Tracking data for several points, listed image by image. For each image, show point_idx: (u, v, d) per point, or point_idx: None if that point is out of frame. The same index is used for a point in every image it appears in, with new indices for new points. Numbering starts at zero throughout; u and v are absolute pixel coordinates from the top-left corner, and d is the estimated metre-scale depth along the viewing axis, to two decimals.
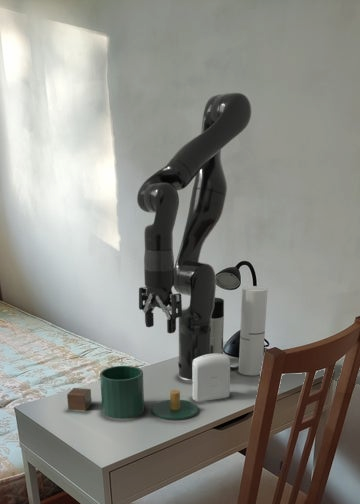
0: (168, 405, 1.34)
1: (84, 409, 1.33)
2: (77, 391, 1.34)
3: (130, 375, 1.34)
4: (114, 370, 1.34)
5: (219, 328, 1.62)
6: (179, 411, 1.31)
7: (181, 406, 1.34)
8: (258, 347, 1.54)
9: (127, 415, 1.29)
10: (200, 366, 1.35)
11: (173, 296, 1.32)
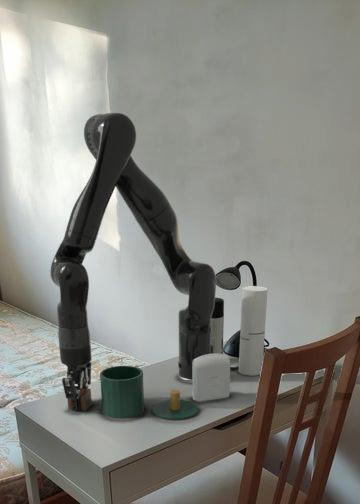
0: (168, 405, 1.34)
1: (84, 409, 1.33)
2: None
3: (130, 375, 1.34)
4: (114, 370, 1.34)
5: (219, 328, 1.62)
6: (179, 411, 1.31)
7: (181, 406, 1.34)
8: (258, 347, 1.54)
9: (127, 415, 1.29)
10: (200, 366, 1.35)
11: None
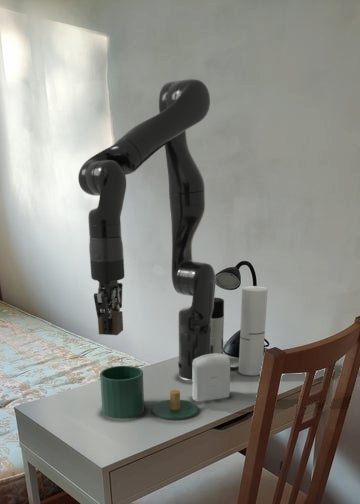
0: (168, 405, 1.34)
1: (116, 331, 1.23)
2: None
3: (130, 375, 1.34)
4: (114, 370, 1.34)
5: (219, 328, 1.62)
6: (179, 411, 1.31)
7: (181, 406, 1.34)
8: (258, 347, 1.54)
9: (127, 415, 1.29)
10: (200, 366, 1.35)
11: (94, 295, 1.17)
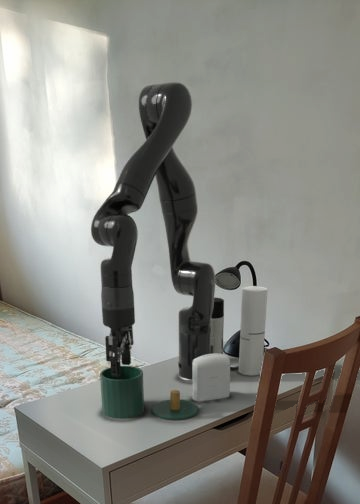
0: (168, 405, 1.34)
1: None
2: None
3: (130, 375, 1.34)
4: None
5: (219, 328, 1.62)
6: (179, 411, 1.31)
7: (181, 406, 1.34)
8: (258, 347, 1.54)
9: (127, 415, 1.29)
10: (200, 366, 1.35)
11: None
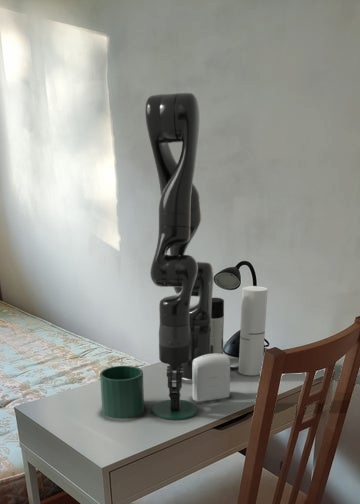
0: (168, 405, 1.34)
1: None
2: None
3: (130, 375, 1.34)
4: (114, 370, 1.34)
5: (219, 328, 1.62)
6: (179, 411, 1.31)
7: (181, 406, 1.34)
8: (258, 347, 1.54)
9: (127, 415, 1.29)
10: (200, 366, 1.35)
11: (169, 382, 1.23)
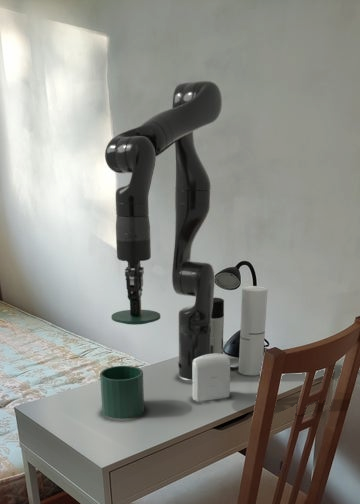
0: (129, 313, 1.25)
1: None
2: None
3: (130, 375, 1.34)
4: (114, 370, 1.34)
5: (219, 328, 1.62)
6: (140, 317, 1.22)
7: (143, 313, 1.25)
8: (258, 347, 1.54)
9: (127, 415, 1.29)
10: (200, 366, 1.35)
11: (126, 279, 1.14)
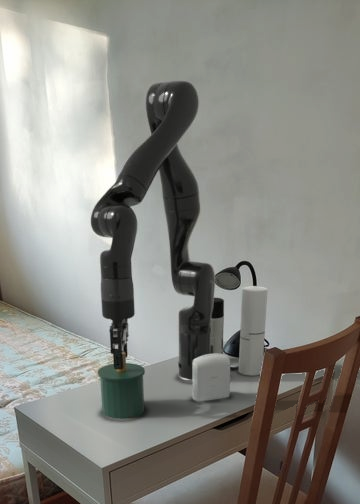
0: None
1: None
2: None
3: None
4: None
5: (219, 328, 1.62)
6: (124, 373, 1.28)
7: (128, 368, 1.30)
8: (258, 347, 1.54)
9: (127, 415, 1.29)
10: (200, 366, 1.35)
11: (110, 330, 1.19)
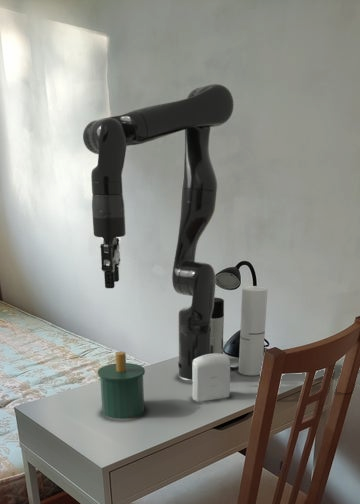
0: (115, 368, 1.31)
1: None
2: None
3: None
4: None
5: (219, 328, 1.62)
6: (124, 373, 1.28)
7: (128, 368, 1.30)
8: (258, 347, 1.54)
9: (127, 415, 1.29)
10: (200, 366, 1.35)
11: (100, 246, 1.21)
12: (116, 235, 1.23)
